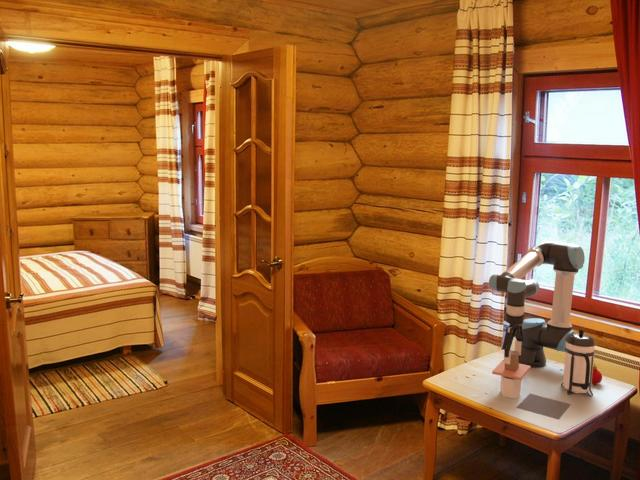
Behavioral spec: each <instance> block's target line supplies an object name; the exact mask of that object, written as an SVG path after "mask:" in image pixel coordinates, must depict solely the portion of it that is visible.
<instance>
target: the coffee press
mask: <svg viewBox="0 0 640 480" xmlns="http://www.w3.org/2000/svg"><path fill="white" fill-rule="evenodd" d="M565 341H566V346H565V351H566V352H564V354H565V355H564V366H563V367H564V368H563V379H562V380H563V382H562V383H561V384H560V387H561V388H565V389H566V390H567V393H566V394H567V395H569V396H571V395H572V394H573V393H577V394H587V396H588V397H593V396H594V393H593V391H592V385H593V384H592V373H593V366H594V358H595V354H596V353H595V352H596V350H595V348H596V347H595V346H596V345H597V342H596V339H595V338H594V337H593V336H592V335H590V334H588V333H585V331H584V329H579V330H578V332H576V333H571V334H569V335H568V336H567V337H566V339H565Z"/></svg>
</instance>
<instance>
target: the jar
mask: <svg viewBox="0 0 640 480" xmlns="http://www.w3.org/2000/svg"><path fill="white" fill-rule="evenodd" d="M521 386H522V380H517V379H513V378H509V377H505V376H501V380H500V394H501V396H502V397H505V398H510V399H516V398H520V397H521V389H522V388H521Z"/></svg>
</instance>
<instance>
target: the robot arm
mask: <svg viewBox="0 0 640 480" xmlns="http://www.w3.org/2000/svg"><path fill="white" fill-rule="evenodd" d="M544 264H545V265H552V266H553V268H552V269H553V271H554V272H555V280H554V289H553V299H552V307H551V308H552V309H551V317H550V319H549V320H548V321H547V323H546V320H545V319H543V318H538V317H532V318H530V317H529V318H525V319H524V316H525V315H524V314H525V302H526V301H525V300H526V299H528V298H531V297H534V296H536V295H537V294H538V293H539V292H540V285H539V282H538V281H536V280H535V279H529V278H528V279H522V278H524V277H526V275H528V274H529V273H530V272H531V271H533V269H535V268H537V267H540V266H542V265H544ZM584 264H585V252H584V249H583V248H582V246H581V245H578V244H575V243H567V242H558V241H552V240H550V241H544V242H541V243H538V244H535V245H533V246H532V247H531V248H529V249H528V250H527V251H526V252H525V255H523V256H522V257H520V259H519V260H517V261H516V262H515V263H513V264H512V265H511V266H510V267H508V268H507V269H506V270H505V271H503V272H502V273H501V274H492V275H491V276H490V277H489V280H488V287H489V288H490V289H491V290H492V291H496V292H500V293H504V294H505V293H506V294H507V295H506V305H505V308H506V314H505V322H506V323H508V324H509V325H508V326H507V327H506V328H505V335H504V340H503V343H502V347H501V350H503V360H504V363H505V364H510V357H511V347H512V345H513V341H514V351H517V352H519V364H524V365H529V366H531V368H541V367H545V366H546V365H547V358H546V354H545V350H544V348H546V349H550V350H554V351H556V352H561V353H565V352H566V351H565V346H566V341H565V339H566V337H567V336H568V335H569V334H571V333H577V332H576V331H575V330H574V329H573V324H572V323H571V322H570V320H571V311H572V304H573V303H572V301H573V292H574V281H575V275H577V274H579V273H578V272H579V270H581V269H582V268H584ZM514 338H515V340H514Z"/></svg>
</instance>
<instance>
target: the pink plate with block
mask: <svg viewBox="0 0 640 480" xmlns="http://www.w3.org/2000/svg"><path fill="white" fill-rule="evenodd" d="M510 350H511V349H510ZM531 369H532V367H531V366H529V365H524V364H519V352H517V351H515V350H511V357H510V364H505V363H504V359H502V360H501V361H500V362H499V363H498V364H497V366H495V368H493V370H492V375H496V376H505V377H509V378H513V379H517V380H521V381H522V379H523V378H524V377H525V376H526V375H527V373H528V372H529V371H530V370H531Z"/></svg>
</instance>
